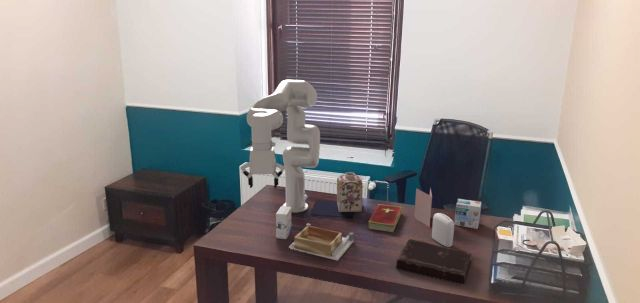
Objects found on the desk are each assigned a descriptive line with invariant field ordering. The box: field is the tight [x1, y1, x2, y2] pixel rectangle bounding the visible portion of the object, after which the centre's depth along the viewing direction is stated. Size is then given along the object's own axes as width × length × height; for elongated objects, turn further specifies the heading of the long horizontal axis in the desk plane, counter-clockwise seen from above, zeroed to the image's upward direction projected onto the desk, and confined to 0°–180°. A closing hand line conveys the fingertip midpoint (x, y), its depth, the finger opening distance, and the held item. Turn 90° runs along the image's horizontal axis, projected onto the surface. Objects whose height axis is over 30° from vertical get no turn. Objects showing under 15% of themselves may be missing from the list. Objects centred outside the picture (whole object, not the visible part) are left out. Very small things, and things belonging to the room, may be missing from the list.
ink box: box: [275, 205, 292, 240], centre depth 197 cm, size 9×5×12 cm, turn 168°
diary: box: [395, 238, 473, 286], centre depth 174 cm, size 19×25×5 cm
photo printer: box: [431, 212, 455, 248], centre depth 190 cm, size 10×4×12 cm, turn 26°
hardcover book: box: [366, 203, 403, 233], centre depth 211 cm, size 12×21×4 cm, turn 160°
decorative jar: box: [336, 171, 364, 213], centre depth 224 cm, size 12×12×18 cm
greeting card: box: [413, 187, 434, 228], centre depth 209 cm, size 11×7×15 cm, turn 170°
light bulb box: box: [453, 198, 482, 230], centre depth 207 cm, size 11×7×11 cm, turn 68°
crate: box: [294, 225, 343, 257], centre depth 186 cm, size 12×16×5 cm
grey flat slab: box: [288, 222, 355, 261], centre depth 189 cm, size 17×22×4 cm
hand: (263, 186), depth 179 cm, fingers open, 9 cm apart
